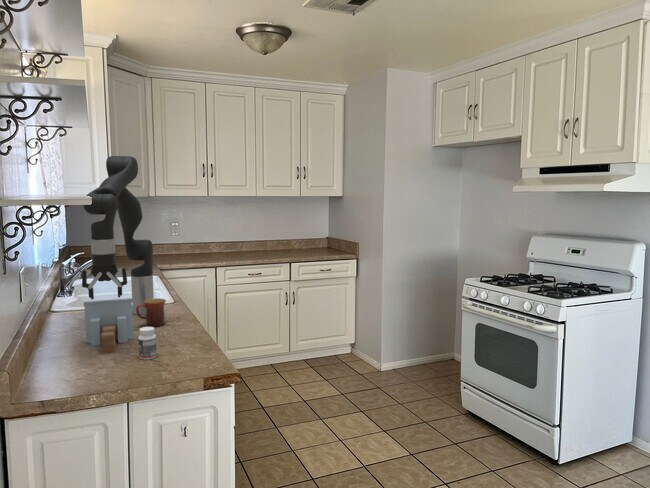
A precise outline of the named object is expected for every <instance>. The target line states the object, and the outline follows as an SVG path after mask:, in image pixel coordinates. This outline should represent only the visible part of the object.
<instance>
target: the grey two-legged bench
mask: <svg viewBox="0 0 650 488" xmlns="http://www.w3.org/2000/svg"><path fill="white" fill-rule="evenodd" d="M83 307H84V322H85V324H84V325H85V327H84V328H85V341H86V344H90V345H91V347H93V346H101V335H102V330H103V326H107V325H115V328H116V341H117V343H118V344H122V343H124V344H125V343H128V340H132V339H134V329H133V328H134V327H133V326H134V325H133V310H132V297H130V298H128V297H127V298H115V299H113V298H112V299H102V300H99V299H98V300H87V301H85V300H84V301H83Z"/></svg>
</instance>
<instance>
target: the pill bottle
mask: <svg viewBox="0 0 650 488" xmlns="http://www.w3.org/2000/svg"><path fill="white" fill-rule="evenodd" d="M139 334H140V335H139V336H138V356H139V359H141V360H144V361H145V360H146V361H147V360H152V359H155V358H156V357H157V355H158V348H157V335H156V334H155V327H150V326H143V327H141V328H139Z"/></svg>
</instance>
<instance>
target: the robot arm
mask: <svg viewBox="0 0 650 488" xmlns="http://www.w3.org/2000/svg"><path fill="white" fill-rule="evenodd" d="M105 167H106V168H105V169H106V173H107V176H108V177H106V178H104V180H103V181H102V182H101V184H100V185H99V186H98V187H96V188H95V189H93V190H92V191H90V192H88V194H86V196H90V197H92V204H91V205H82V206H83V208H84V211H85V212H86V213H88V214H89V215H94V216H95V215H96V216H97V215H105V216H104V218H103V219H102V220H98V221H94V222H92V223H91V225H90V231H91V232H90V233H91V235H90V236H91V243H90V246H91V247H90V252H91V269H85V268H84V269H83V270H81V271H82V272H81V275H82V276H81V287H82V288H85V289H87V290H88V297H89V299H90V301H93V300H94V299H95V293H94V286H95V285H96V283H97V282H110V281H112V282H113V283H114V284H116V286H117V297H118V298H117V299H120V298H121V296H123V286H125V285H126V286H127V285H128V278H127V277H128V276H127V269H126V267H125V266H123V267H121V268H120V267H119V268H118V267H117V260H116V258H117V257H116V243H115V236H114V235H115V233H114V225H115V219H116V215H117V214H118V218H119V221H120V225H121V228H122V233H123V239H124V248H125V252H126V256H127V260H130V261H143V263H142V264H141V265H139V266H136V267H134V268H132V269H131V270H130V279H131V280H130V283H131V298H132V315H136V316H138V315H137V313H136V307H137V306H138V305H140V304H144V303H143V301H145V300H148V299H155V298H154V297H155V295H154V293H155V292H154V275H153V274H154V273H153V271H154V270H153V269H154V268H153V267H154V266H153V265H154V264H153V263H154V261H153V259H154V258H153V256H154V255H153V254H154V252H153V251H154V250H153V249H154V247H153V242H152V240H151V239H134V234H135V232H136V231H137V229H138V228H139V226H140V224H141V223H142V220H143V211H142V206H141V202H140V200H139V199H138V198H137V197H136V196H135V195H134V194H133V192H131V191H130V190H129V189H128V188H127V186H128V185H129V184H131V183H132V182H134V180H135V179H136V178H137V176H138V174H139V164H138V160H137V158H135V157H134V156H131V155H130V156H129V155H124V156H122V155H111V156H108V157H107V158H106V161H105ZM118 273H119V274H120V275H122V281H121V280H119V277H117V276H116V275H117V274H118ZM90 274H91V275H92V276H93V279H92V280H91V281H90V283H88V282H87V281H88V277H89V276H90ZM139 314H140V315H141V316H145V315H146V309H145V307H143V306H141V307H139Z"/></svg>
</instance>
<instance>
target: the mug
mask: <svg viewBox="0 0 650 488" xmlns="http://www.w3.org/2000/svg"><path fill="white" fill-rule="evenodd" d="M166 301H167V300H166V299H165V298H154V299H148V300H145V301H143V303H144V304H140V305H138V306H137V307H136V313H137V315H136V316H137V317H138V318H139V319H141V320H145V322H146V325H147V327H154V328H155V327H161V326H163V325H164V324H165V321H166V320H165V319H166V317H165V316H166V315H165V305H166ZM141 306H143V307H145V309H146V315H140V314H139V307H141Z"/></svg>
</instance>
